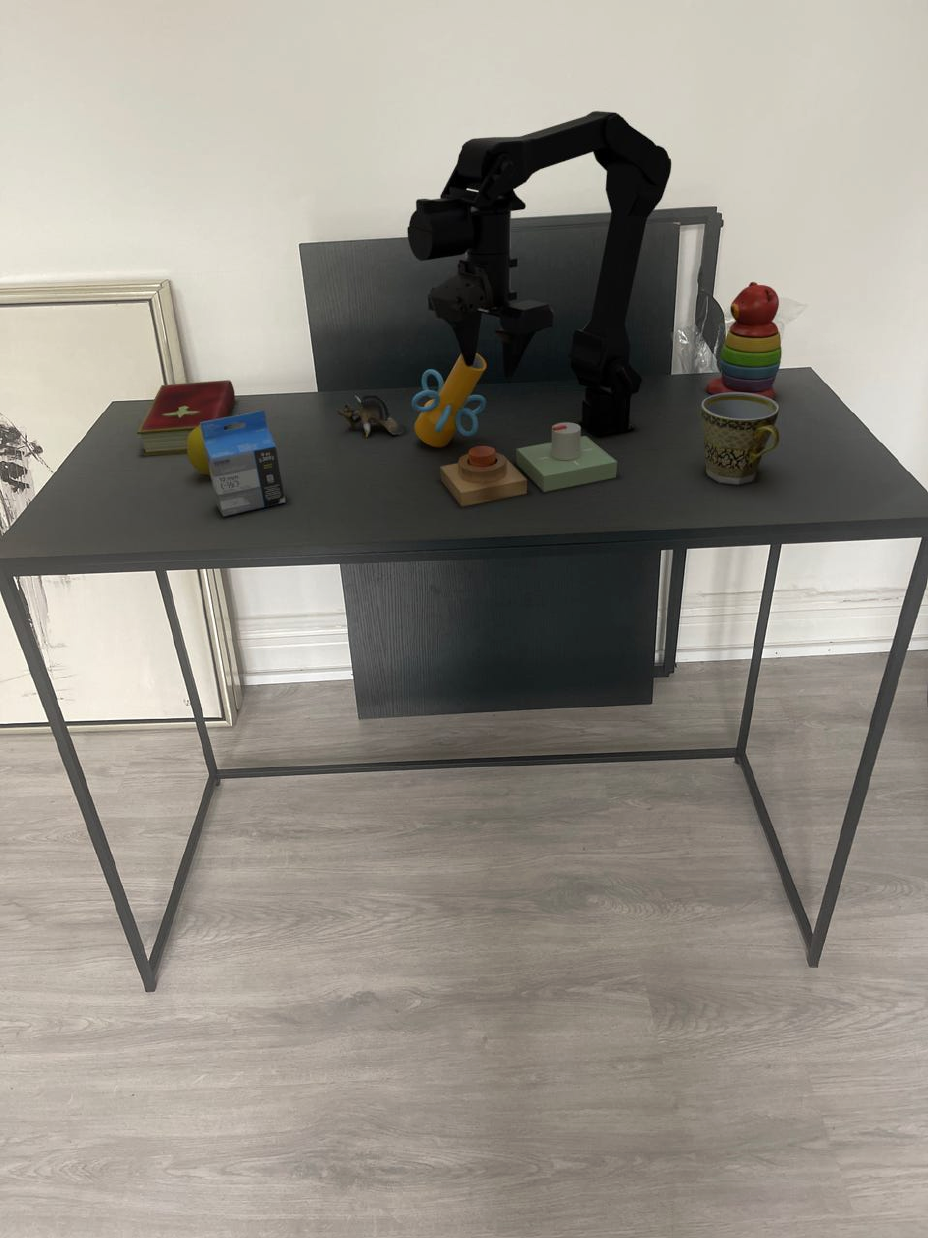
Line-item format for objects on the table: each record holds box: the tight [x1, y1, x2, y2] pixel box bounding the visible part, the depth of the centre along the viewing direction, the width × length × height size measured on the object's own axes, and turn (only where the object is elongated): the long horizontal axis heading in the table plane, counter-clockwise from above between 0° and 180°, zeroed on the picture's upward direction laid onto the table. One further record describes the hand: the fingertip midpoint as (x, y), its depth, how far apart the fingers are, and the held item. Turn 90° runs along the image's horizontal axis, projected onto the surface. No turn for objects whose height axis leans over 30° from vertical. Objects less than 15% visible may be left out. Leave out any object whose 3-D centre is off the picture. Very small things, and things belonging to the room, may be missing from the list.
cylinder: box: [411, 352, 487, 448], centre depth 133 cm, size 12×10×15 cm
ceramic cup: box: [701, 392, 780, 485], centre depth 122 cm, size 13×10×10 cm
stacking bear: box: [706, 281, 783, 400], centre depth 145 cm, size 11×10×18 cm
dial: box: [551, 421, 582, 460], centre depth 127 cm, size 4×4×4 cm
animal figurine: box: [335, 394, 404, 438], centre depth 143 cm, size 8×7×9 cm
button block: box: [439, 451, 528, 507], centre depth 125 cm, size 10×9×4 cm
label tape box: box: [200, 410, 286, 517], centre depth 121 cm, size 9×4×12 cm, turn 114°
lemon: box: [187, 425, 211, 477], centre depth 131 cm, size 6×6×8 cm
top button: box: [468, 445, 496, 467], centre depth 124 cm, size 4×4×2 cm
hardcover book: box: [136, 379, 236, 457], centre depth 149 cm, size 12×21×4 cm, turn 5°
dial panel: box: [515, 435, 618, 493], centre depth 129 cm, size 11×10×3 cm
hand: (488, 371), depth 124 cm, fingers open, 7 cm apart
